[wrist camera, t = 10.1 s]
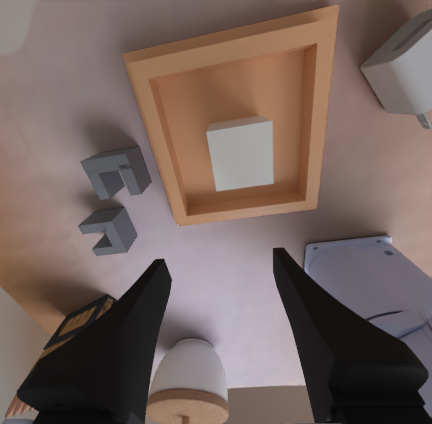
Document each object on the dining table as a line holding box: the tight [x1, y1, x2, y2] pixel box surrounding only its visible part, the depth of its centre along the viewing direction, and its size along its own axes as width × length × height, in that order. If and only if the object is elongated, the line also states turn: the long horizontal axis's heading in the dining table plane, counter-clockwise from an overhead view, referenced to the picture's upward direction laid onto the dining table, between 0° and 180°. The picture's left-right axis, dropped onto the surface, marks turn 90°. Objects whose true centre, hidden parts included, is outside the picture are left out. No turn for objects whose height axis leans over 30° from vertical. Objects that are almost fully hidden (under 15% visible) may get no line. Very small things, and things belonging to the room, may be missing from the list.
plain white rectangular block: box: [206, 115, 274, 191], centre depth 15 cm, size 4×4×5 cm
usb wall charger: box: [360, 9, 432, 129], centre depth 14 cm, size 4×7×4 cm, turn 48°
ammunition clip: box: [5, 295, 117, 419], centre depth 26 cm, size 11×2×12 cm, turn 124°
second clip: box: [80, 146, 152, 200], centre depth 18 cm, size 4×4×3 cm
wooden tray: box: [122, 4, 339, 226], centre depth 16 cm, size 15×15×3 cm
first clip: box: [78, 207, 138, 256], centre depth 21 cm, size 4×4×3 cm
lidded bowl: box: [146, 338, 229, 424], centre depth 32 cm, size 13×13×11 cm
